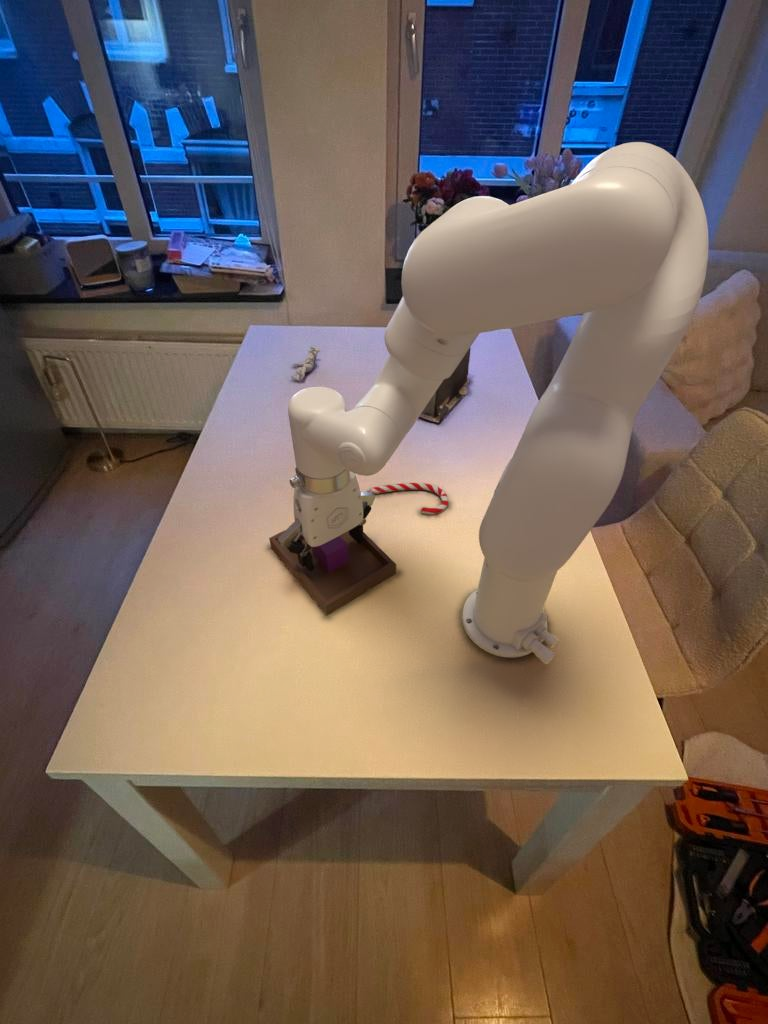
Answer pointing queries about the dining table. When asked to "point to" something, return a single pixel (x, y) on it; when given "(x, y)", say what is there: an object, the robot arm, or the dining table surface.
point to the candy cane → (418, 487)
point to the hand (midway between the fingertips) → (332, 551)
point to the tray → (340, 572)
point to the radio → (448, 392)
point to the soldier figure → (306, 363)
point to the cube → (332, 553)
